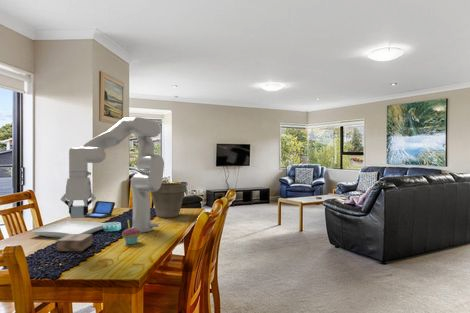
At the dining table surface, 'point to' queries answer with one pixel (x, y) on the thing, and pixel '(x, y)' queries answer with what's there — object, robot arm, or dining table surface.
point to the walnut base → (74, 242)
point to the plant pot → (168, 199)
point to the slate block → (77, 211)
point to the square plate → (69, 228)
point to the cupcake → (131, 234)
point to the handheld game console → (102, 210)
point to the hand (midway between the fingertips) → (78, 214)
